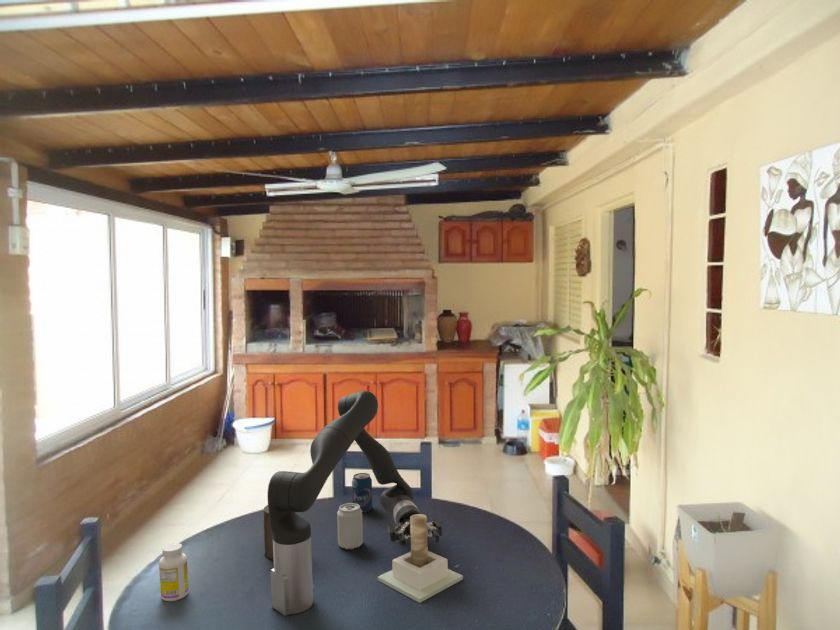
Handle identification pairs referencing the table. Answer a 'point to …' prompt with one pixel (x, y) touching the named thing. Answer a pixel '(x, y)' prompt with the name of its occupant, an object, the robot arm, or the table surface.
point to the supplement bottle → (173, 573)
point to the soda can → (362, 491)
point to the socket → (420, 577)
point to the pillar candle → (268, 535)
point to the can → (350, 526)
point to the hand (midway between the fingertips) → (421, 541)
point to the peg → (419, 540)
